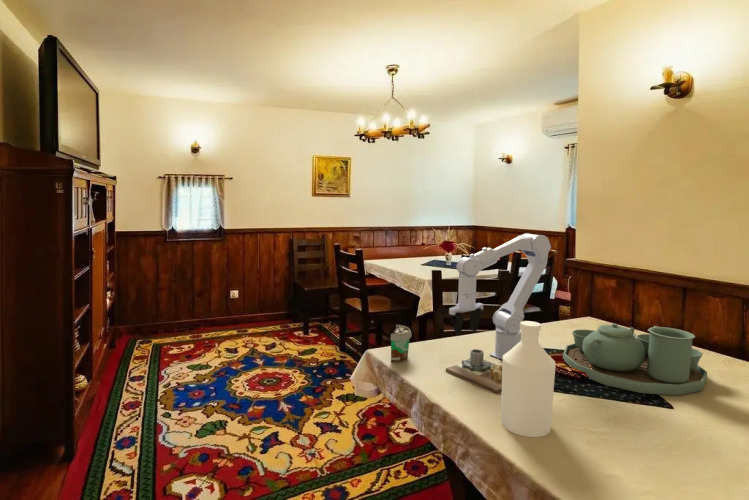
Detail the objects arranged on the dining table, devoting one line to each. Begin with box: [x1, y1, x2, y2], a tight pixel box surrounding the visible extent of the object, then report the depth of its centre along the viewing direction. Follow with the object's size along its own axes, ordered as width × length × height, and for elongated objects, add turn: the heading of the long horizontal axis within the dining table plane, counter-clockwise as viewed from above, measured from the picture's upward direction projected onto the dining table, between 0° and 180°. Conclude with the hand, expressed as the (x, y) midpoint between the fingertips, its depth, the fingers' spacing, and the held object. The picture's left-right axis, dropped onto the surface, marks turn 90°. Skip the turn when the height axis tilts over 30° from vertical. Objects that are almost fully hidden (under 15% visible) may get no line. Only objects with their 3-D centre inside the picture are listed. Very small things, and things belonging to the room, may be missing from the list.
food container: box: [390, 324, 412, 363], centre depth 149 cm, size 12×6×10 cm, turn 168°
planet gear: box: [461, 348, 492, 372], centre depth 139 cm, size 9×9×5 cm
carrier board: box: [445, 359, 503, 395], centre depth 135 cm, size 16×20×4 cm
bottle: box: [500, 320, 557, 438], centre depth 104 cm, size 12×12×25 cm
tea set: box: [562, 323, 708, 396], centre depth 141 cm, size 40×40×16 cm
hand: (465, 332), depth 148 cm, fingers open, 7 cm apart
